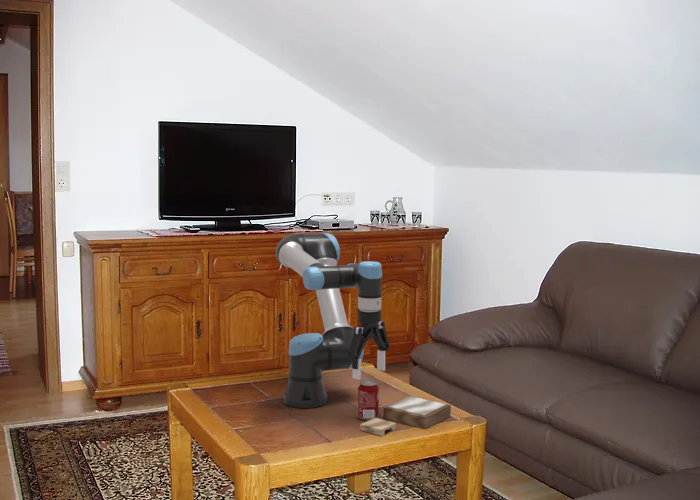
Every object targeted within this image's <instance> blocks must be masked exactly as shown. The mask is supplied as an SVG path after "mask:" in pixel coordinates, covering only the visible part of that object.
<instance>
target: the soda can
mask: <svg viewBox="0 0 700 500" xmlns="http://www.w3.org/2000/svg"><path fill="white" fill-rule="evenodd" d="M379 391H380V389H379V385H378V382H377V381H376V380H372V379H364V380H361V381H359V385H358V387H357V417H358V419H359V418H360V419H361V420H362V421H366V422H367V421H369V420H371V419H373V418H378V419H379V406H380V405H379V400H380V399H379V397H380V392H379Z"/></svg>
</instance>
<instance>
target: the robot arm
mask: <svg viewBox="0 0 700 500" xmlns="http://www.w3.org/2000/svg"><path fill="white" fill-rule="evenodd" d="M340 251H341V249H340V245H339V242H338V240H337V238H336V237H335V236H334V235H333V234H331V233H330V232H329V233H327V232H319V233H318V232H317V233H293V234H289V235H286V236H285V237H283V238H282V239H281V240H280V241H279V242H278V243H277V246H276V249H275V255H276V259H277V260H278V262H279V263H280V264H281V265H282V266H284V267H285V268H289V269H292V270H293V271H295V272H296V273H297V274H298V275H299V276H301V277H302V283H303V286H304V288H305V289H306V290H307V291H308V290H309V291H310V290H311V291H312V290H314V291H315V292H316V297H317V302H318V306H319V310H320V315H321V318H322V319H321V320H322V323H323V328H324V332H323V333H322V334H321V333H318V332H312V333H311V332H309V333H308V332H307V333H302V334H299V335H296V336H293V338H291V339H290V341H289V344H288V382H287V384H286V387H285V391H284V394H283V403H284V404H285V405H287V406H289V407H293V408H298V409H311V408H318V407H321V406H324V405H326V404H327V403H328V394H327V392H326V388H325V384H324V381H323V371H325V372H326V371H336V370H349V369H351V370H352V379H355V380H361V379H362V378H361V377H362V372H361V371H362V361H363V359H364V352H365V346H366V344H367V342H369V340H371V339H373V341H374V343H375V344H376V346H377V348H378V349H377V351H376V353H377V355H376V357H377V358H376V360H377V361H376V368H377V369H376V370H377V371H378V370H379V371H384V372H385V371H386V358H387V357H386V355H387V354H386V352H387V351H389V350H390V347H391V344H390V340H389V337H388V334H387V330H386V327H385V323H386V322H385V321H382V310H381V309H382V290H383V288H382V283H383V272H382V270H383V269H382V264H381V262H379V261H370V260H369V261H368V260H367V261H361V262H359V263H352V262H351V263H348V264H345V265H343V264H342V265H338V262H339V260H340V258H341V256H340V255H341V253H340ZM348 288H349V289H350V288H351V289H352V288H356V289H357V290H358V295H357V308H358V309H359V310H358V311H357V320H358V322H359V323H360V327H357V326H356V327H353V326H352V325H349V323H348V319H347V315H346V312H345V311H346V310H345V307H344V303H343V300H342V299H343V298H342V295H341V291H340V290H341V289H348Z"/></svg>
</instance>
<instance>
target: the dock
mask: <svg viewBox="0 0 700 500" xmlns="http://www.w3.org/2000/svg"><path fill="white" fill-rule="evenodd" d="M451 407H452V406H451V404H447V403H443V402H439V401H434V400H430V399H425V398H421V397H417V396H413V395H408V396H407V397H404V398H401V399H399V400H397V401H395V402H393V403H390V404H387V405H386V406H384V407H383V408H382V409H383V413H382V415H383V416H382V417H383V418H382V419H383V420H387V421H391V422H395V423H396V422H397V423H401V424H404V425H408V426H412V427H415V428H421V429H424V430H426V429H428V428H430V427H432V426H433V425H436V424H437V423H439V422H441V421H443V420H445V419H448V418H450V417H451V414H452V413H451V411H452V410H451Z"/></svg>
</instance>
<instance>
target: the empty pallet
mask: <svg viewBox="0 0 700 500" xmlns="http://www.w3.org/2000/svg"><path fill="white" fill-rule="evenodd" d="M359 426H360V431H362V432H366V433H369V434H374V435H376V436H380V437H383V436H385V434H386V433H385V432H386V431H387V430H389V431H392V432H394V431H395V430H396V426H397V423H396V422H395V421H391V420H387V419H383V418H382V419H381V418H379V417H378V418H373V419H371V420H369V421H367V420H366V421H365V422H362V423H360V424H359Z"/></svg>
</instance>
